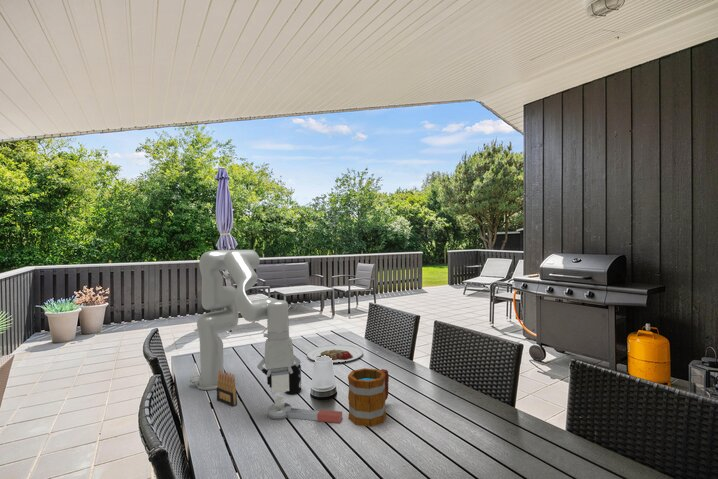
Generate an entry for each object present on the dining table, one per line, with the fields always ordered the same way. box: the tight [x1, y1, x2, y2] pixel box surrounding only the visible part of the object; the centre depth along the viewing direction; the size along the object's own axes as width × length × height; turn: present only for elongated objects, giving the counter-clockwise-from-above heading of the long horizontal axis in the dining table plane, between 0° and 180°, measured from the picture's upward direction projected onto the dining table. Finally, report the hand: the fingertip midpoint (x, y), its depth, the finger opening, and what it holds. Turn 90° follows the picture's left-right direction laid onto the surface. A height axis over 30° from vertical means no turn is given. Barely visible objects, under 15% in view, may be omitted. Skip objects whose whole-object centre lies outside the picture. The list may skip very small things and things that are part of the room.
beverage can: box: [285, 361, 302, 395], centre depth 157 cm, size 7×7×12 cm
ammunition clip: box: [216, 370, 238, 407], centre depth 148 cm, size 11×2×12 cm, turn 54°
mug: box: [347, 368, 390, 427], centre depth 136 cm, size 20×14×15 cm
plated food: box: [306, 344, 364, 364], centre depth 204 cm, size 30×30×3 cm
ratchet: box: [267, 396, 343, 424], centre depth 135 cm, size 27×8×6 cm, turn 76°
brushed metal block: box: [270, 368, 289, 394], centre depth 137 cm, size 6×6×7 cm
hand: (279, 384), depth 137 cm, fingers closed on brushed metal block, 6 cm apart
